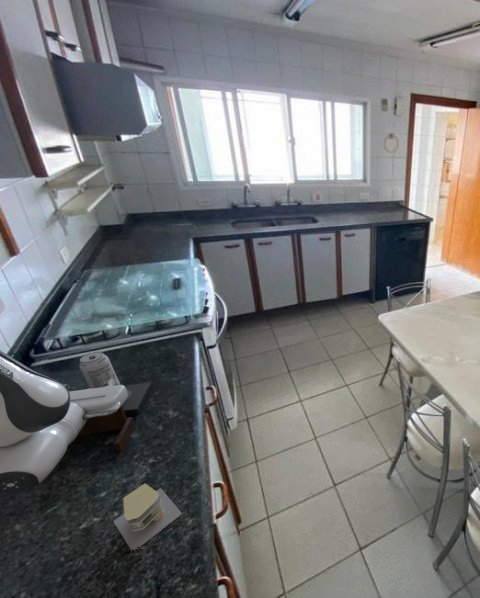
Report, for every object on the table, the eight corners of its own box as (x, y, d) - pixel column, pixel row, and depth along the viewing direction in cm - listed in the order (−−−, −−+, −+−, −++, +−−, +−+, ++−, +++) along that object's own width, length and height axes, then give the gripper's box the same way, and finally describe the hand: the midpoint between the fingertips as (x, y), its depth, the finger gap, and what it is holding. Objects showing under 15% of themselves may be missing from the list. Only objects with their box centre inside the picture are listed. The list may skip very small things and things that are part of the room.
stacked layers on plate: (113, 521, 68) (103, 504, 66) (160, 487, 75) (153, 471, 73) (132, 552, 63) (123, 536, 61) (182, 513, 70) (175, 497, 67)
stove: (68, 424, 89) (63, 414, 88) (89, 395, 99) (86, 386, 98) (138, 414, 94) (135, 404, 93) (152, 387, 105) (149, 378, 103)
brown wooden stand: (34, 467, 78) (19, 439, 74) (57, 436, 86) (44, 410, 82) (121, 451, 83) (111, 425, 79) (135, 423, 91) (126, 398, 87)
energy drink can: (121, 388, 99) (102, 347, 93) (127, 398, 96) (108, 356, 90) (95, 399, 95) (74, 357, 89) (101, 409, 92) (79, 366, 85)
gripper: (111, 403, 76) (133, 368, 88) (-7, 420, 70) (34, 379, 81) (118, 423, 79) (139, 386, 91) (6, 441, 72) (44, 399, 84)
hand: (88, 383), depth 86 cm, fingers open, 8 cm apart
